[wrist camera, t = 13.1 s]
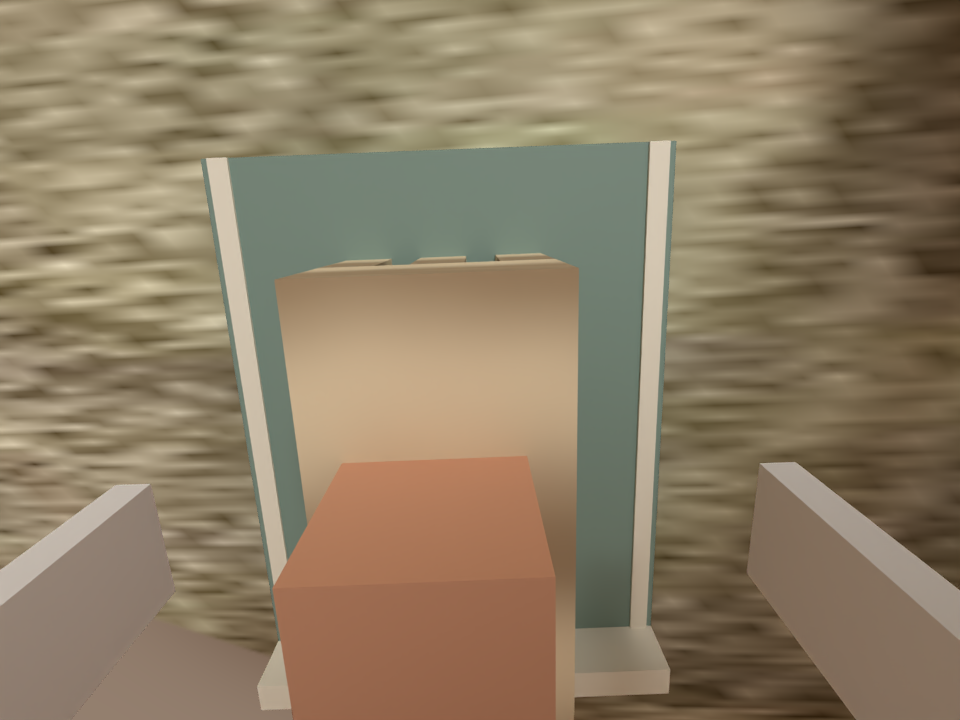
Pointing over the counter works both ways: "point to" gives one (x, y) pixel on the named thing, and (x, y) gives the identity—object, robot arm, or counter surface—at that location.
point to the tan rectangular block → (443, 382)
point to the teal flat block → (479, 236)
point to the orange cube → (422, 596)
